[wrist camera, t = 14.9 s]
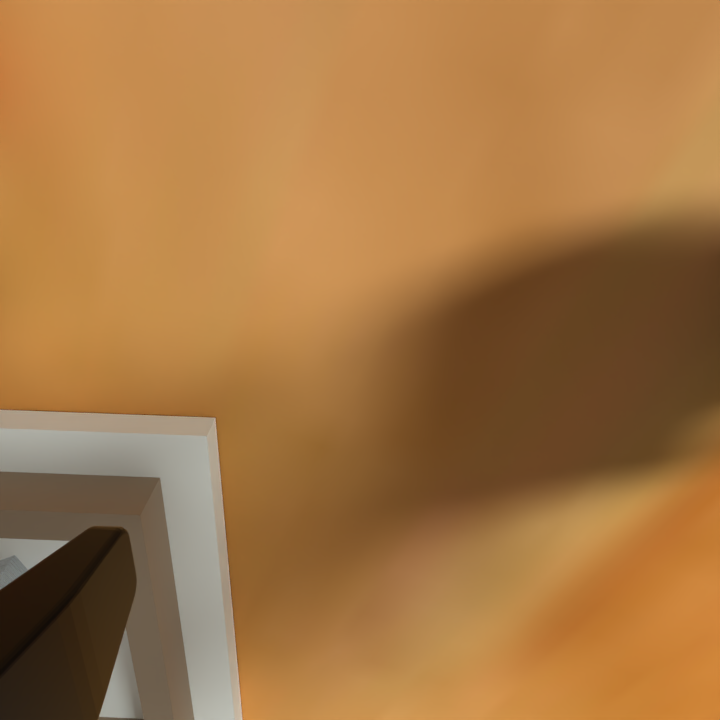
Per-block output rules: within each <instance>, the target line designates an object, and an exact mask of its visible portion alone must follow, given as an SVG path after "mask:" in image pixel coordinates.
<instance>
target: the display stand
mask: <svg viewBox="0 0 720 720" xmlns="http://www.w3.org/2000/svg"><path fill="white" fill-rule="evenodd" d="M92 526H120V527H123V528H125V529H126V530H127V531H128V533H129V537H130V542H131V547H132V553H133V558H134V564H135V570H136V576H137V586H136V593H135V597H134V601H133V604H132V607H131V611H130V614H129V618H128V621H127V624H126V628H125V631H124V635H123V638H122V642H121V645H120V648H119V652H118V655H117V659H116V662H115V665H114V669H113V672H112V676H111V679H110V682H109V686H108V689H107V693H106V696H105V699H104V702H103V705H102V709H101V712H100V715H99V718H98V720H243V719H242V708H241V697H240V686H239V674H238V663H237V652H236V641H235V630H234V619H233V608H232V597H231V585H230V574H229V563H228V552H227V541H226V530H225V519H224V508H223V496H222V485H221V474H220V463H219V452H218V441H217V430H216V419H215V418H212V417H184V416H157V415H130V414H103V413H76V412H49V411H21V410H0V560H2V559H5V558H8V557H11V556H14V555H15V556H16V557H17V558H18V559H19V560H20V561H21V563H22V564H23V565H24V566H25V567H26V568H27V569H28V570H29V569H30V568H32V567H33V566H35V565H36V564H38V563H39V562H40V561H42V560H43V559H45V558H46V557H48V556H49V555H50V554H52V553H53V552H55V551H56V550H58V549H59V548H60V547H62V546H63V545H65V544H66V543H68V542H69V541H70V540H72V539H73V538H75V537H76V536H78V535H79V534H80V533H82V532H83V531H85V530H86V529H88V528H90V527H92Z"/></svg>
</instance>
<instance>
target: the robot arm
mask: <svg viewBox="0 0 720 720" xmlns="http://www.w3.org/2000/svg"><path fill="white" fill-rule="evenodd" d="M136 586H137V576H136V570H135V564H134V558H133V553H132V547H131V542H130V537H129V533H128V531H127V530H126V529H125V528H123V527H120V526H92V527H90V528H88V529H86V530H85V531H83V532H82V533H80V534H79V535H78V536H76V537H75V538H73V539H72V540H70V541H69V542H68V543H66V544H65V545H63V546H62V547H60V548H59V549H58V550H56V551H55V552H53V553H52V554H50V555H49V556H48V557H46V558H45V559H43V560H42V561H40V562H39V563H38V564H36V565H35V566H33V567H32V568H30V569H29V570H28V571H26V572H25V573H23V574H22V575H20V576H19V577H18V578H16V579H15V580H13V581H12V582H10V583H9V584H7V585H6V586H5V587H3V588H2V589H0V720H98V718H99V715H100V712H101V709H102V705H103V702H104V699H105V696H106V693H107V689H108V686H109V682H110V679H111V676H112V672H113V669H114V665H115V662H116V659H117V655H118V652H119V648H120V645H121V642H122V638H123V635H124V631H125V628H126V624H127V621H128V618H129V614H130V611H131V607H132V604H133V601H134V597H135V593H136Z"/></svg>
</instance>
